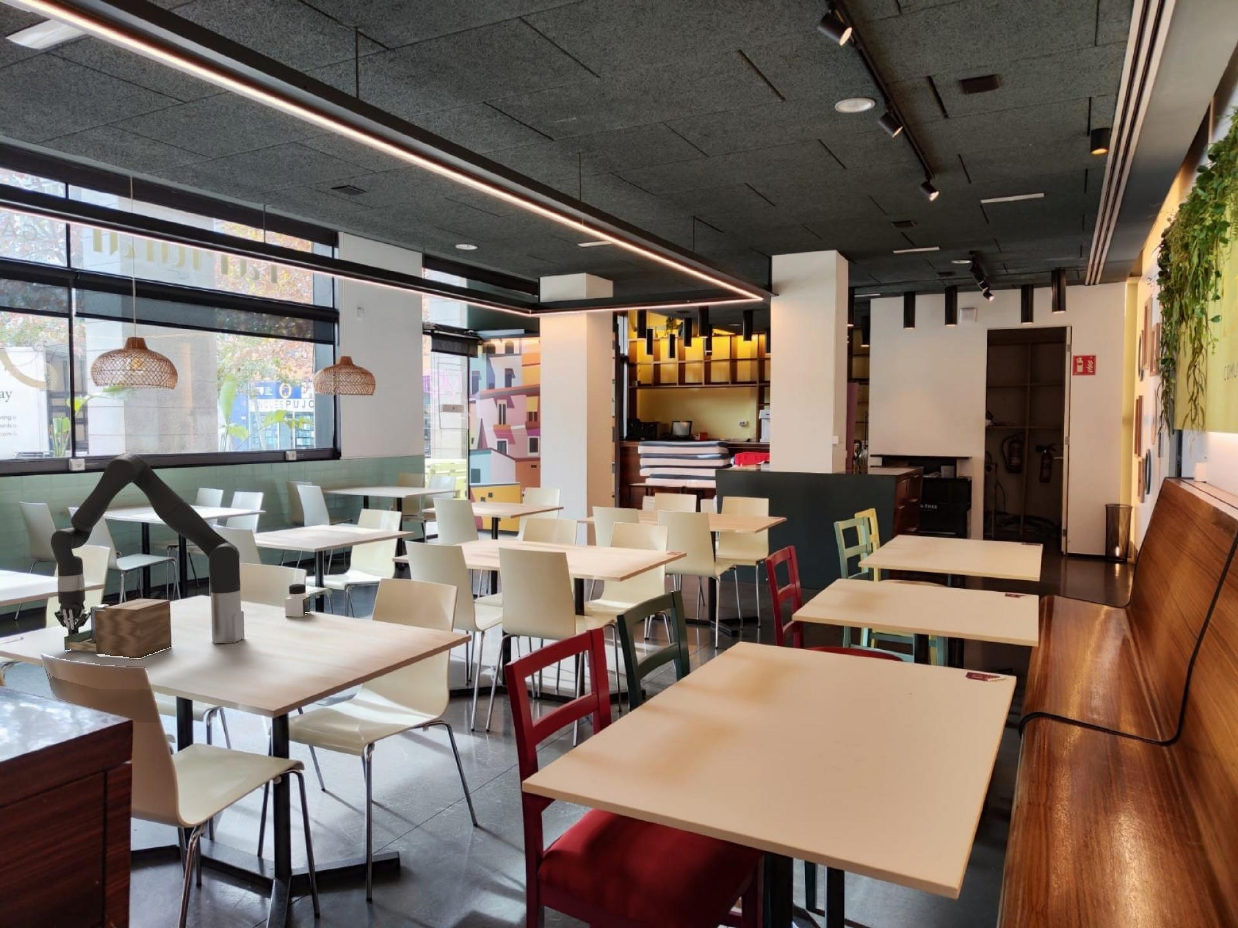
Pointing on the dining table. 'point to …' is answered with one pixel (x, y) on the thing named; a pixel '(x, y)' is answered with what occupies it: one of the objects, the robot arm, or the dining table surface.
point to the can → (92, 610)
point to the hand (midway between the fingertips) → (73, 639)
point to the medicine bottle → (297, 601)
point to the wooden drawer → (80, 641)
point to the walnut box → (133, 628)
